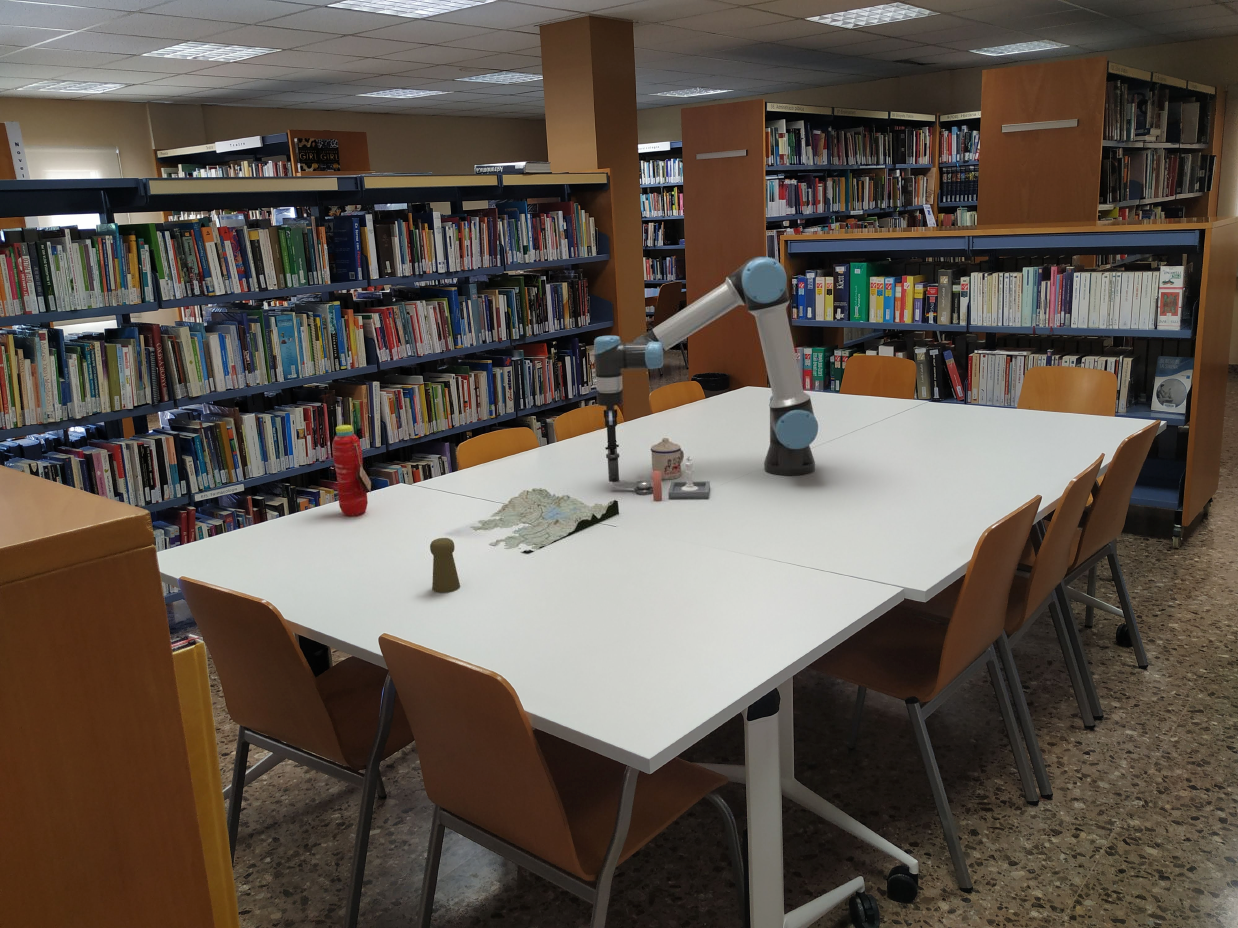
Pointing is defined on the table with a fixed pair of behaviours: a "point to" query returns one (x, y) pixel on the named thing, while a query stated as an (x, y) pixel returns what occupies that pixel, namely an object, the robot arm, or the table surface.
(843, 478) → the table surface
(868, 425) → the table surface
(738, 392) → the table surface
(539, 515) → the topographic map model
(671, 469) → the teacup with lid
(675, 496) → the tray
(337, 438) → the water bottle
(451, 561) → the cork
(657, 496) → the post
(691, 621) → the table surface
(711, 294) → the robot arm
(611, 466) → the crank arm
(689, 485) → the chess piece
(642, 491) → the crank base
